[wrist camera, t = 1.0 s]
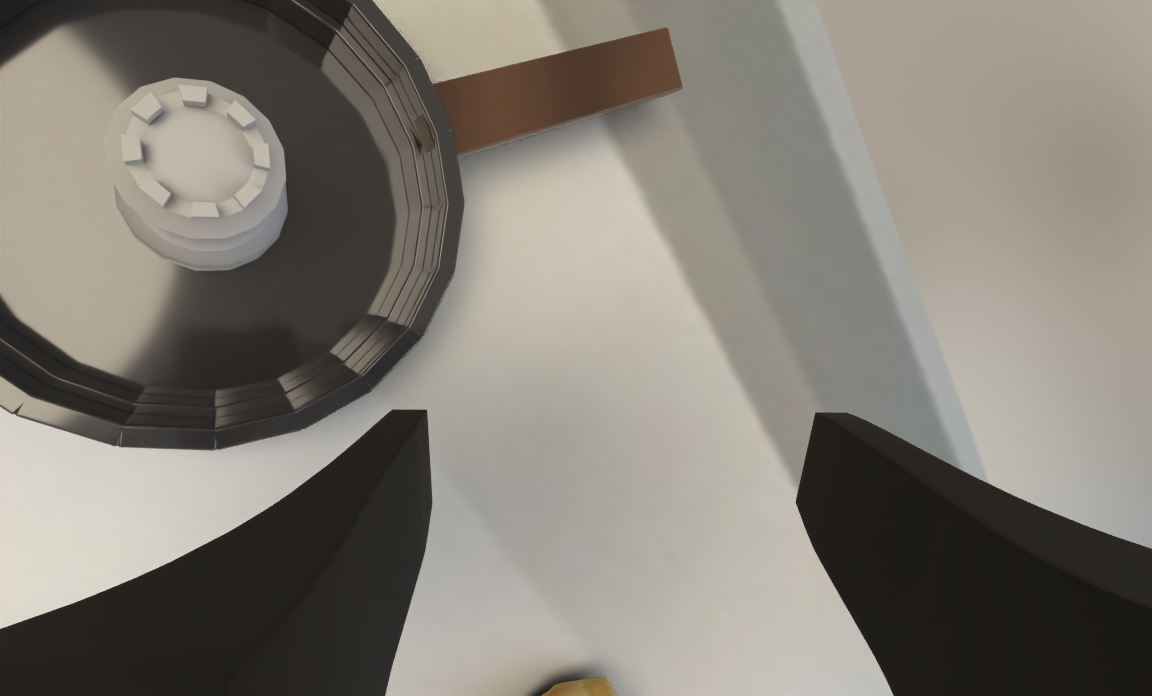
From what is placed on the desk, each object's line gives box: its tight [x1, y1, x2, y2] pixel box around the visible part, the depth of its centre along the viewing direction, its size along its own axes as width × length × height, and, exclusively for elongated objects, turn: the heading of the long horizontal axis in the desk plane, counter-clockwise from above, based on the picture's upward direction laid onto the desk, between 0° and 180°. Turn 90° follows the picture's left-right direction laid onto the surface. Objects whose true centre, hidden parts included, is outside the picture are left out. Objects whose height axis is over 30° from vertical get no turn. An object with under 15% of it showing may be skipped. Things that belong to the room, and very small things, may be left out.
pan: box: [0, 0, 464, 450], centre depth 18 cm, size 14×14×4 cm
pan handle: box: [414, 28, 682, 158], centre depth 22 cm, size 10×2×1 cm, turn 109°
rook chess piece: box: [104, 78, 288, 271], centre depth 16 cm, size 4×4×8 cm
